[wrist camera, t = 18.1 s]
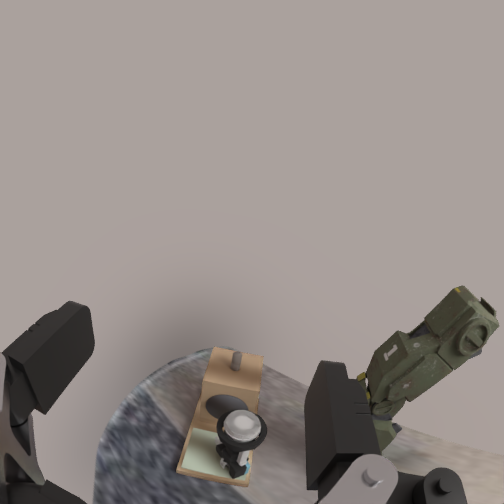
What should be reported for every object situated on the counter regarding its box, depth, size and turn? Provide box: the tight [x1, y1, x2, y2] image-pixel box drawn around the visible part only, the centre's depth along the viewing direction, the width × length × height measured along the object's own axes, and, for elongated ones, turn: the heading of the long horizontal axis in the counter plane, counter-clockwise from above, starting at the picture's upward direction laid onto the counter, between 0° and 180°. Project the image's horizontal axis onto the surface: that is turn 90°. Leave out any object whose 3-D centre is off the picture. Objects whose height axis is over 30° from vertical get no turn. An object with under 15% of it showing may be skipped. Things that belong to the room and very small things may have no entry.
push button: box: [215, 409, 267, 479], centre depth 29 cm, size 7×5×10 cm
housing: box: [176, 347, 263, 487], centre depth 33 cm, size 16×9×12 cm, turn 174°
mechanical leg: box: [356, 286, 499, 455], centre depth 27 cm, size 14×7×30 cm, turn 81°
